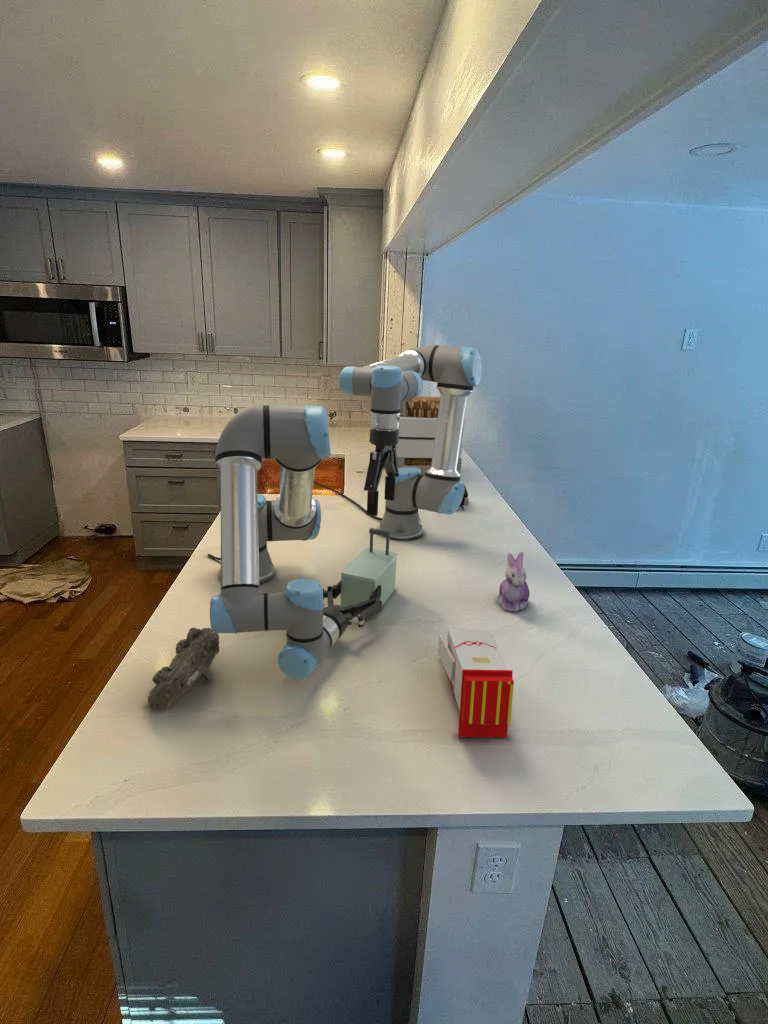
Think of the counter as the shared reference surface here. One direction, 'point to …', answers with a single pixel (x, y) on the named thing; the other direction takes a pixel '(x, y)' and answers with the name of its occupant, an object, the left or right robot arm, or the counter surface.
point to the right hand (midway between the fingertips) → (381, 507)
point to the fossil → (184, 666)
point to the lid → (371, 560)
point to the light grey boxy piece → (419, 432)
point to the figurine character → (464, 499)
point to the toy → (478, 682)
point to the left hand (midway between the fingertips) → (361, 586)
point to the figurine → (514, 585)
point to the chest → (367, 587)
